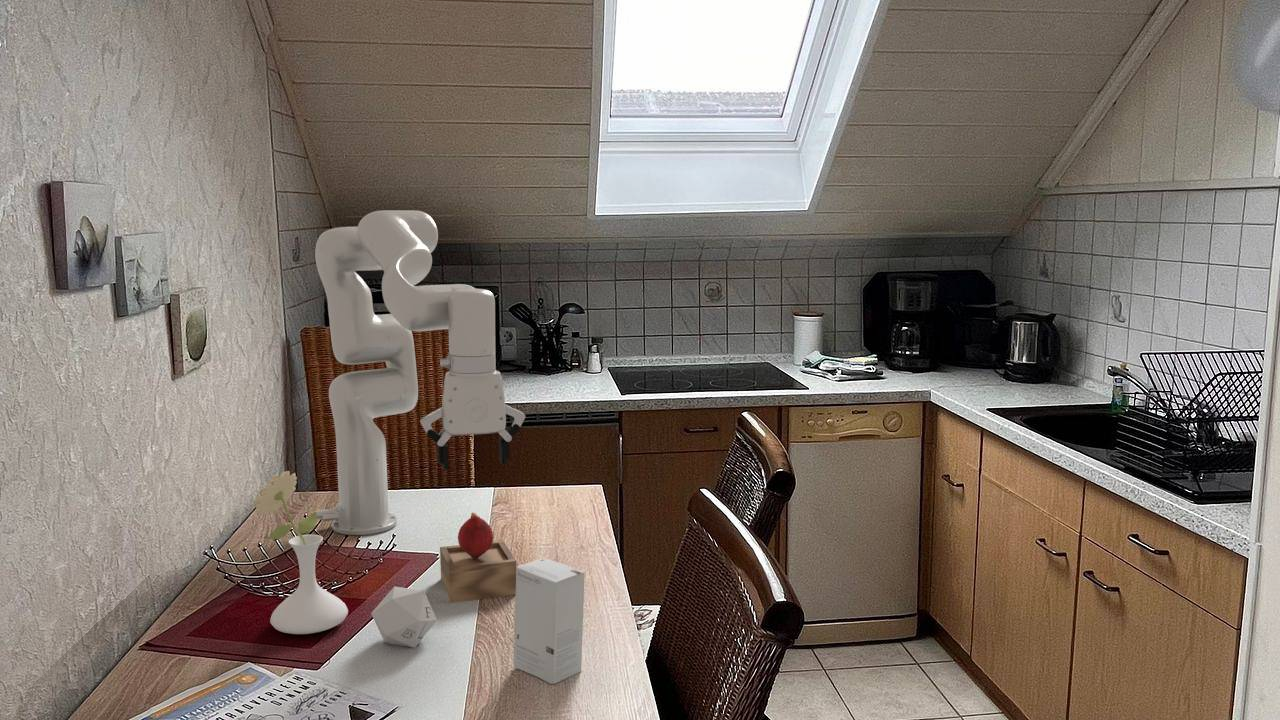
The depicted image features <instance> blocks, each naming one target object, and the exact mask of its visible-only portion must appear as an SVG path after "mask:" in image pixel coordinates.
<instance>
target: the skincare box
mask: <svg viewBox="0 0 1280 720" xmlns="http://www.w3.org/2000/svg"><path fill="white" fill-rule="evenodd" d="M585 575H586V573H585V572H584V571H581V570H578V569H576V568H574V567H571V566H568V565H567V564H565V563H562V562H557V561H555V560H552V559H548V558H546V557H542V558H539V559H535V560H532V561H531V562H527V563H524V564H521V565H516V594H515V604H514V605H515V606H514V610H515V611H514V637H513V640H514V641H513V667H514V668H515V669H518V671H519V670H520V671H522V672H525V673H527V674H530V675H532V676H534V677H537V678H539V679H541V680H543V681H545V682H546V683H548V684H550V685H555V684H558V683H559V682H562V681H563V680H566V679H569V678H570V677H572V676H574V675H576V674H578V673H580V672H582V656H583V654H582V653H583V630H584V629H583V627H584V625H583V624H584V623H583V622H584V599H585V597H584V596H585V595H584V594H585Z"/></svg>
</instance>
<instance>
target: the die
mask: <svg viewBox="0 0 1280 720" xmlns="http://www.w3.org/2000/svg"><path fill="white" fill-rule="evenodd" d="M370 614H371V616H372V618H373V621H374V622H375V625H376V627H377V628H378V630H379V633H380V635H381V638H382V639H383V641H384V643H385V644H390V645H396V646H400V647H407V648H412V649H414V648H416V647H417V646H418V644H419V643H420V642H421V641H422V639H423V638H424V637H425V636H426V635H427V634H428V632H429V631H430V630H431V628H433V626H434V625H435V623H436V622H437V621H438V619H437V617H436V614H435V613H434V610H433V608H432V606H431V604H430V601H429V599H428V597H427V595H426V592H425V591H424V590H423V589H422V590H421V589H415V588H407V587H401V586H393V587H392V589H391V590H390V591H389V592H388V593H387V594H386V595H385V597H383V599H382V600H381V601H380V603H379V604H378V605H377V606H376V607H375V608H374V610H372V611H371V613H370Z"/></svg>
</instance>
